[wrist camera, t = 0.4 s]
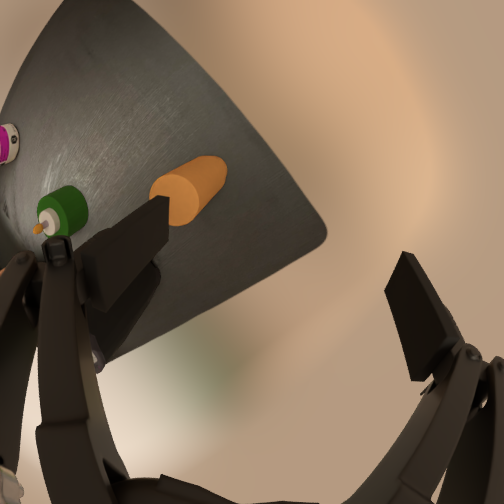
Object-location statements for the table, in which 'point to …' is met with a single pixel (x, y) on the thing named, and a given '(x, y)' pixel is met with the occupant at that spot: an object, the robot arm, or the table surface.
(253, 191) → the table surface
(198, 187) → the orange tall cylinder
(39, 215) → the candle
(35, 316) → the robot arm
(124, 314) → the portable speaker
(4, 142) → the supplement can
